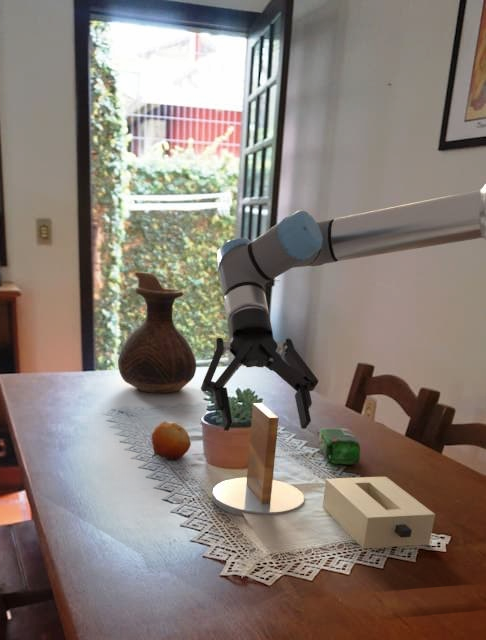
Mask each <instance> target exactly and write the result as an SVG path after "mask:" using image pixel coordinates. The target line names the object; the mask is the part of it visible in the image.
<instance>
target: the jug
mask: <svg viewBox="0 0 486 640" xmlns="http://www.w3.org/2000/svg"><path fill="white" fill-rule="evenodd" d="M134 275H135V277H136V278H137V280H138V286H137V287H135V289H134V291H135V293H136V294H138V295H139V296H141V297H142V298H143V299H144V301H145V306H146V317H145V320H144V322H143V323H142V324H141V325H140V326H138V327H137V328H136V329H134V330H133V331H132V332H131V334H130V335H129V336H128V337H127V340H126V341H125V342H124V344H123V346H122V348H121V350H120V353H119V356H118V359H117V366H118V371H119V374H120V376H121V378H122V380H123V381H124V382H125V383H126V384H128V385H131V386H132V387H134V388H136V389H137V390H139V391H141V392H146V393H153V394H160V393H163V394H164V393H173V392H178V391H181V389H183V388H184V387H185V386H186V385H187V384H189V383H190V382H191V381H192V380H193V379H194V377H195V374H196V370H197V360H196V356H195V353H194V351H193V349H192V346H191V345H190V343H189V341H188V340H187V338H186V337H185V336H184V334H183V333H181V331H180V330H179V329H178V328H176V325H175V323H174V321H173V320H174V319H173V308H174V307H173V306H174V302H175V300H176V299H178V298H181V297H182V296H184V292H183V291H182V290H179V289H175V288H163V286H162V285H161V284H160V282H159V280H158V278H157V276H156V275H155V274H154V273H152V272H143V271H138V272H135V273H134Z"/></svg>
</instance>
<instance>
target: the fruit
mask: <svg viewBox="0 0 486 640" xmlns="http://www.w3.org/2000/svg"><path fill="white" fill-rule="evenodd" d="M151 443H152V450H153V455H152V456H151V458H154V457H156V456H160V457H162V458H164V459H168V460H173V461H177V460H179V459H181V458H182V457H183V456H184V455H185V454H187V453H188V452H189V450H190V448H191V439H190V434H189V433H188V431H187V430H186V428H185V427H183V426H182V425H179V424H178V423H176V422H169V421H162V422H161V423H159V424H158V425H156V427H155V428H154V429H153V432H152V434H151Z"/></svg>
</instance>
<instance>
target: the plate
mask: <svg viewBox="0 0 486 640" xmlns="http://www.w3.org/2000/svg"><path fill="white" fill-rule="evenodd" d="M211 498H212V499H211V500H212V501H213V503H214V504H215V505H216V507H218V508H219V509H221V510H223V511H225V512H227V513H230V514H233V515H235V516H239V517H244V518H245V515H244V513H251V514H261V515H262V514H263V515H273V514H283V513H288V512H292V511H295V510H297V509H300V508H301V506H303V504H304V502H305V495H304V493H303V492H302V491H301V490H300V489H298V488H297V487H295V486H293V485H292V484H289V483H286V482H284V481H281V480H275V479H273V482H272V492H271V502H270V504H261V502H260V501H259V500H258V499H257V497H256V496H255V495H254V493H253V492H252V491H251V490H250V488H249V487H248V486H247V477H237V478H236V477H235V478H230V479H226V480H222V481H221V482H219V483H217V484H216V485H215V486H214V487H213V489H212V496H211Z"/></svg>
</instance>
